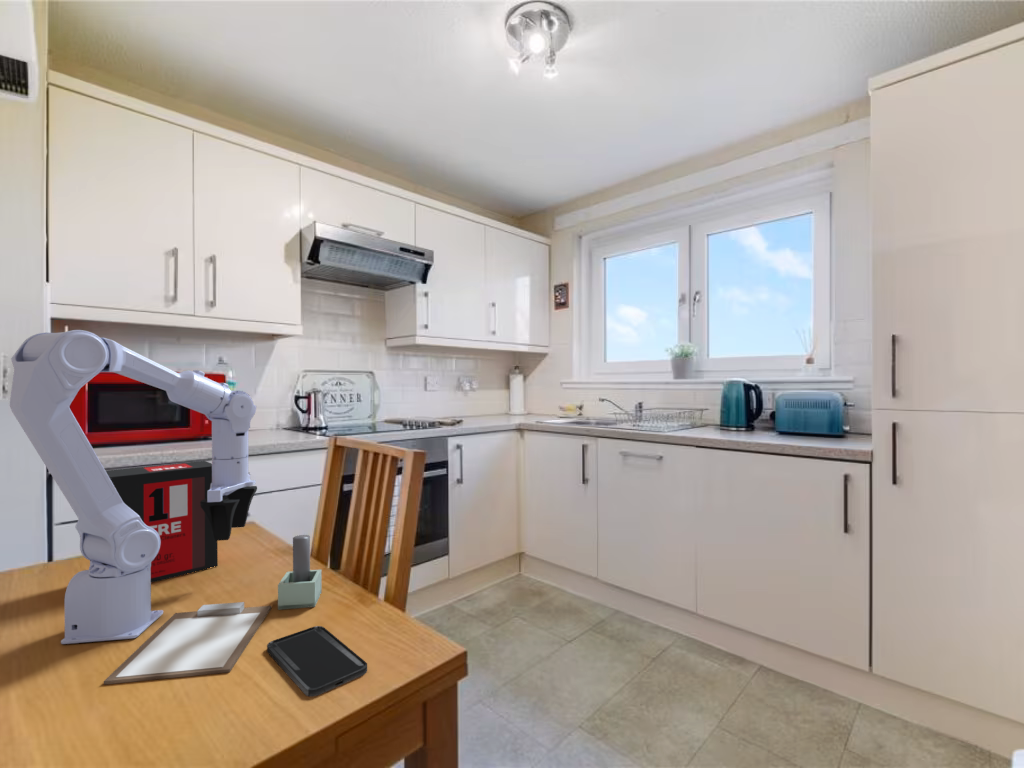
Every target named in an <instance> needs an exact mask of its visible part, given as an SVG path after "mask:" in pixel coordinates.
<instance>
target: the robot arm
mask: <svg viewBox="0 0 1024 768" xmlns="http://www.w3.org/2000/svg"><path fill="white" fill-rule="evenodd" d="M10 360H11V363H12V364H11V365H12V366H13V375H12V385H11V389H10V390H11V392H10V398H9V407H10V409H11V412H12V414H13V416H14V417H15V419H16V420H17V422H18V424H19V425H20V427H21V429H22V430H23V432H24V433H25V436H27V438H28V439H29V441H30V442H31V445H32V446H33V448H34V449H35V451H36V452H37V454H38V456H39V457H40V459H41V461H42V462H43V464H44V466H45V467H46V469H47V470H48V472H49V474H50V475H51V477H52V478H53V480H54V482H55V483H56V485H57V486H58V488H59V489H60V491H61V492H62V494H63V496H64V498H65V499H66V501H67V503H68V504H69V505H70V507H71V509H72V510H73V512H74V514H75V516H76V517H77V518H78V519H77V522H76V524H75V530H76V531H77V533H78V536H79V538H80V539H79V551H80V553H81V555H82V556H83V557H84V558H85V559H86V560H88V561H89V567H88V569H85V570H80V571H78V572H77V573H75V574H74V575H73V576H72V578H71V579H70V580H69V582H68V585H67V586H66V591H65V593H64V638H62V639H61V640H60V644H61V645H66V644H67V645H69V644H79V643H92V642H93V643H94V642H105V641H116V640H118V641H119V640H128V639H129V640H130V639H135V638H138V637H139V636H140V635H141V634H143V632H145V631H146V630H147V629H148V628H149V627H150V626H151V625H152V624H153V623H154V622H156V621H157V620H158V619H159V618H160V617H161V616H162V615H164V610H163V609H159V610H152V593H151V592H152V590H151V589H152V588H151V587H152V585H151V584H152V583H151V562H152V561H153V559H154V558H155V557H156V555H157V554H158V552H159V549H160V544H161V541H160V536H159V534H158V532H157V531H156V530H155V529H153V528H151V527H149V526H147V525H146V524H144V523H143V521H142V519H141V518H140V516H139V515H138V514H137V513H136V512H134V511H133V510H132V509H131V508H129V507H128V506H127V505H126V504H125V503H124V502H123V501H122V499H121V497H120V495H119V494H118V492H117V490H116V488H115V487H114V485H113V483H112V481H111V480H110V478H109V476H108V474H107V473H106V469H105V467H104V465H103V464H102V462H101V460H100V459H99V457H98V455H97V453H96V452H95V449H94V448H93V446H92V444H91V443H90V441H89V439H88V437H87V435H86V434H85V433H84V431H83V429H82V427H81V426H80V423H79V422H78V420H77V418H76V417H75V415H74V413H73V411H72V410H71V408H70V406H71V404H72V402H73V401H74V399H75V398H76V396H77V395H78V392H79V391H80V390H81V388H83V387H84V386H85V385H86V384H87V383H89V382H90V381H91V380H93V378H94V377H96V376H97V375H99V374H100V373H115V374H118V375H120V376H123V377H127V378H129V379H132V380H134V381H138V382H139V383H140V382H141V383H142V384H143V383H144V384H146V385H149V386H150V387H151V386H152V387H154V388H158V389H160V390H163V391H165V392H166V395H167V397H168V399H169V401H171V402H172V403H174V404H177V405H180V406H182V407H185V408H187V409H190V410H192V411H195V412H197V413H199V414H203V415H205V417H206V419H208V421H211V463H212V483H211V485H210V490H208V491H207V499H204V500H202V501H200V506H201V508H202V509H203V511H204V512H205V514H206V515H207V517H208V520H209V522H210V525H211V529H212V532H213V536H214V539H215V541H217V542H219V541H228V540H230V538H231V534H232V528H233V529H234V528H244V527H245V526H246V524H247V520H248V515H249V511H250V507H251V504H252V500H253V498H254V496H255V495H256V492H257V491H258V486H257V485H256V483H257V481H256V480H255V479H253V480H252V479H251V474H249V431H250V430H249V429H251V421H252V419H253V418H254V415H255V414H256V411H257V405H255V404H254V401H253V399H252V397H251V396H250V394H248V393H247V392H246V391H243V390H231V389H230V387H229V384H227V383H225V382H217V381H214V380H212V379H210V378H208V377H206V376H205V375H206V374H205V372H204V371H202V370H198V369H194V370H190V369H189V370H183V371H180V372H176V371H174V370H173V369H170V368H168V367H166V366H165V365H162V364H161V363H158V362H156V361H154V360H152V359H150V358H148V357H146V356H144V355H142V354H140V353H138V352H136V351H134V350H133V349H132V350H131V349H130V348H128V347H126V346H123V345H122V344H121V343H119V342H117V341H115V340H113V339H111V338H106V337H100V336H99V335H97V334H96V333H94V332H91V331H88V330H82V329H73V330H68V331H63V332H62V331H61V332H39V333H36V334H33V335H31V336H29V337H28V338H26V339H25V340H24V341H23V342H22V343H21V345H20V346H19V347H18V349H17V350H16V351H15V352H14V353H13V355H12V356H11V358H10Z"/></svg>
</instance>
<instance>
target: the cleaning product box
mask: <svg viewBox="0 0 1024 768" xmlns="http://www.w3.org/2000/svg"><path fill="white" fill-rule="evenodd" d="M105 471H106V473H107V474H108V476H109V478H110V480H111V481H112V483H113V485H114V487H115V488H116V490H117V492H118V494H119V495H120V497H121V499H122V501H123V502H124V503H125V504H126V505H127V506H128V507H129V508H131V509H132V510H133V511H134V512H136V513H137V514H138V515H139V516H140V518H141V519H142V521H143V523H144V524H146V525H147V526H149V527H151V528H153V529H155V530H156V531H157V532H158V534H159V536H160V541H161V544H160V549H159V552H158V554H157V555H156V557H155V558H154V559H153V561H152V562H151V584H152V583H155V582H159V581H164V580H167V579H168V580H169V579H172V578H176V577H180V575H181V576H184V574H185V575H188V574H187V573H190V574H193V573H192V572H194V573H196V572H195V571H198V572H200V571H199V570H202V571H204V570H203V569H206V570H208V569H207V568H210V567H214V566H218V562H219V561H218V551H219V550H218V541H215V539H214V536H213V532H212V529H211V525H210V522H209V520H208V517H207V515H206V514H205V512H204V511H203V509H202V508H201V506H200V501H202V500H204V499H207V491H208V490H210V485H211V483H212V462H209V461H206V460H198V461H188V462H186V461H185V462H177V463H169V464H159V465H158V464H157V465H147V466H137V467H127V468H117V469H109V470H108V469H107V470H106V469H105Z"/></svg>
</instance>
